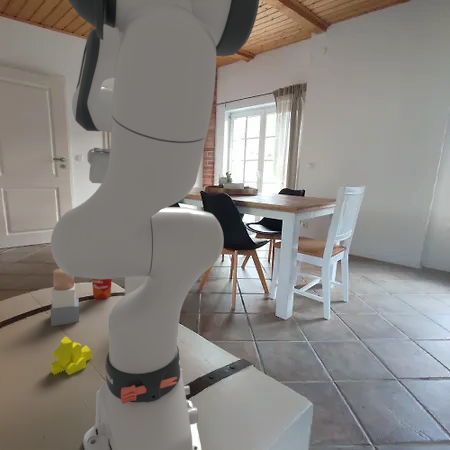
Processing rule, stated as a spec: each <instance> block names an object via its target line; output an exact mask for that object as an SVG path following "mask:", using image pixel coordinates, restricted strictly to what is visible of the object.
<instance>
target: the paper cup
mask: <svg viewBox="0 0 450 450" xmlns="http://www.w3.org/2000/svg"><path fill="white" fill-rule="evenodd" d="M112 280H113V279H91V283H92V293H93V294H92V295H93V299H95V300H105V299H106V300H107V299H109V298H110V297H111V294H112Z"/></svg>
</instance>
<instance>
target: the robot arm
mask: <svg viewBox="0 0 450 450" xmlns="http://www.w3.org/2000/svg"><path fill="white" fill-rule="evenodd" d="M67 1H68V2H69V4H70V5H71V6H72V8H73V10H75V12H76V13H77V15H78V16H79V17H81V18H82V19H83V20H84V21H85V22H87V23H89V24H90V25H91V26H93V29H91V30H90V32H89V34H88V36H87V39H86V42H85V46H84V49H83V55H82V60H81V65H80V70H79V76H78V81H77V84H76V89H75V91H74V93H73V97H72V101H71V102H72V103H71V104H72V106H71V107H72V114H73V117H74V120H75V122H76V123H77V124H78V125H79V126H80V127H81V128H83V129H84V130H86V132H109V133H110V134H111V135H110V147H109V148H100V147H94V148H92V149H91V148H90V150H88V152H87V163H88V164H89V175H88V176H89V177H88V180H89V181H90V183H92V184H100V186H98V188H97V189H96V191H95V192H94V193H93V194H92V195H91V196H90V197H89V198H88V199H86V201H84V202H82V203H81V204H80V205H78V206H75V207H74V208H71V209H69V210H68V211H67V212H65V213H64V214H63V215H62V216H61V217H60V218H59V219H58V221H57V222H56V224H55V225H54V229H53V230H52V232H51V233H52V234H51V238H50V249H51V250H50V251H51V254H52V257H53V260H54V262H55V263H56V265H57V267H58V269H59V268H60V269H61V270H62V271H63V272H64V273H65V274H67V275H68V276H73V277H74V278H82V279H91V280H92V279H112V280H114V279H125V278H127V277H139V276H148V277H147V279H146V280H145V282H144V283H143V284H142V285H141V286H140V287H139V288H138V289H136V290H134V291H133V292H131V293H129V294H127V295H126V296H125V295H124V296H122V298H121V299H119V300H118V301H117V303H116V304H115V305H114V307H112V310H111V312H110V314H109V318H108V352H107V355H106V360H105V367H104V370H105V380H104V382H103V384H102V385H101V386H100V387H99V388H98V389H97V391H96V393H95V395H96V398H95V424H94V425H92V427H90V429H88V430H87V431H86V432H85V433H84V435H83V438H82V439H83V440H82V444H83V448H84V450H203V447H202V443H201V438H200V433H199V428H198V423H199V411H198V407H197V406H194V404H193V402H192V401H191V400H189V399H187V395H190V394H191V391H190V390H191V389H190V388H191V387H190V385H185V383H184V378H183V377H184V375H183V373H184V368H183V369H182V368H181V356H180V350H179V346H178V334H179V324H180V317H181V316H180V315H181V311H182V309H183V305H184V302H185V300H186V298H187V295H188V294H189V292H190V290H191V289H192V287H193V286H194V284H195V283H196V282H197V280H198V279H199V278H200V277H201V276H202V275H203V274H205V272H206V271H207V270H208V269H210V268H211V267H213V266H214V265H215V264H216V263H217V261H218V260H219V259H220V258H221V257H220V256H221V254H222V252H223V249H224V242H225V241H224V240H225V239H224V232H223V229H222V226H221V223H220V222H219V219H217V217H216V216H215V215H214V214H213V213H211V212H208V211H204V210H200V209H195V208H190V207H184V206H183V207H181V206H180V207H179V206H173V205H175V204H176V203H179V202H180V201H182V200H183V199H185V198H186V197H187V196H188V195H189V194H190V192H191V191H192V190H193V189H194V186H195V185H196V183H197V178H198V174H199V171H200V166H201V162H202V159H203V158H202V157H203V153H204V148H205V144H206V141H207V135H208V133H209V127H210V122H211V115H212V110H213V103H214V94H215V86H216V75H217V74H216V73H217V72H216V71H217V57H230V56H233V55H235V54H237V52H239V51H240V50H241V49H242V48H243V47H244V46H245V44H247V42H248V40H249V37H250V36H251V33H252V32H253V29H254V27H255V23H256V20H257V15H258V11H259V6H260V0H67ZM113 78H114V80H113V88H110V87H104V86H103V85H104V82H105V81H107V80H109V79H113Z"/></svg>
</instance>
